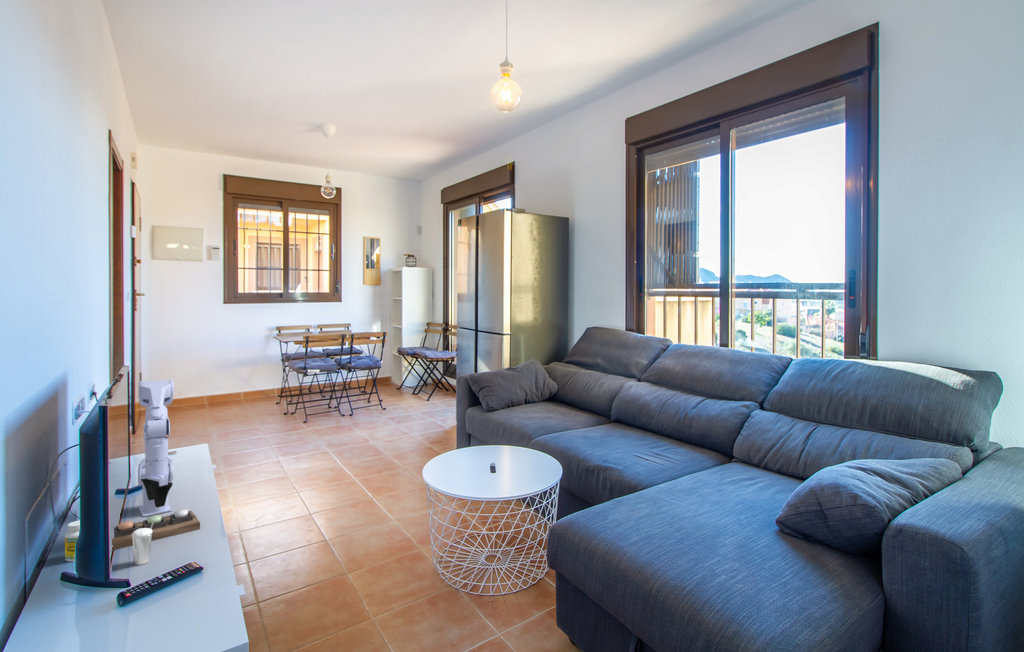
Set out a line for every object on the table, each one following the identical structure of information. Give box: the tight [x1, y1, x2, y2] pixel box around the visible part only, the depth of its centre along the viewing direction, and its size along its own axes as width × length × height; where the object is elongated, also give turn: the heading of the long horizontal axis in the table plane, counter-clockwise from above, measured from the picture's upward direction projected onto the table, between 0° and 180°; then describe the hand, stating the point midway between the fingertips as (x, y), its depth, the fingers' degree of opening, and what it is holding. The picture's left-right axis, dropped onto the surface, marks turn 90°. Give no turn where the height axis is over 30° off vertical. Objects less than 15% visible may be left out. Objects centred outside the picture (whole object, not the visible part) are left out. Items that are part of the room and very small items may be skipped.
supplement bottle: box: [64, 520, 80, 562], centre depth 138 cm, size 5×5×10 cm
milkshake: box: [132, 522, 154, 566], centre depth 136 cm, size 5×5×10 cm
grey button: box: [173, 508, 189, 519], centre depth 159 cm, size 4×4×2 cm
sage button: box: [146, 514, 162, 525], centre depth 154 cm, size 4×4×2 cm
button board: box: [111, 510, 201, 551], centre depth 154 cm, size 12×22×4 cm, turn 133°
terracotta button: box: [117, 520, 134, 531], centre depth 149 cm, size 4×4×2 cm
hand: (156, 502), depth 153 cm, fingers open, 7 cm apart
